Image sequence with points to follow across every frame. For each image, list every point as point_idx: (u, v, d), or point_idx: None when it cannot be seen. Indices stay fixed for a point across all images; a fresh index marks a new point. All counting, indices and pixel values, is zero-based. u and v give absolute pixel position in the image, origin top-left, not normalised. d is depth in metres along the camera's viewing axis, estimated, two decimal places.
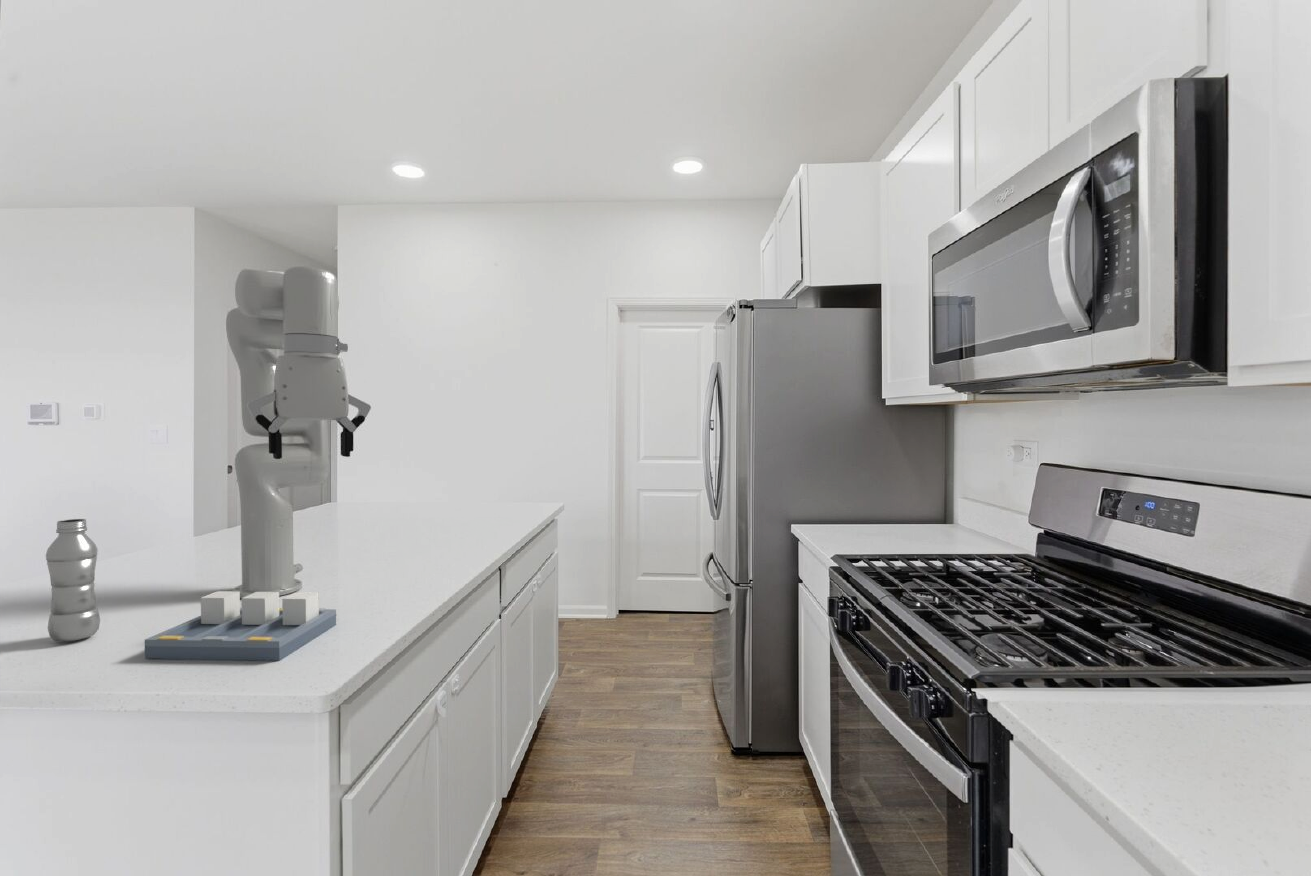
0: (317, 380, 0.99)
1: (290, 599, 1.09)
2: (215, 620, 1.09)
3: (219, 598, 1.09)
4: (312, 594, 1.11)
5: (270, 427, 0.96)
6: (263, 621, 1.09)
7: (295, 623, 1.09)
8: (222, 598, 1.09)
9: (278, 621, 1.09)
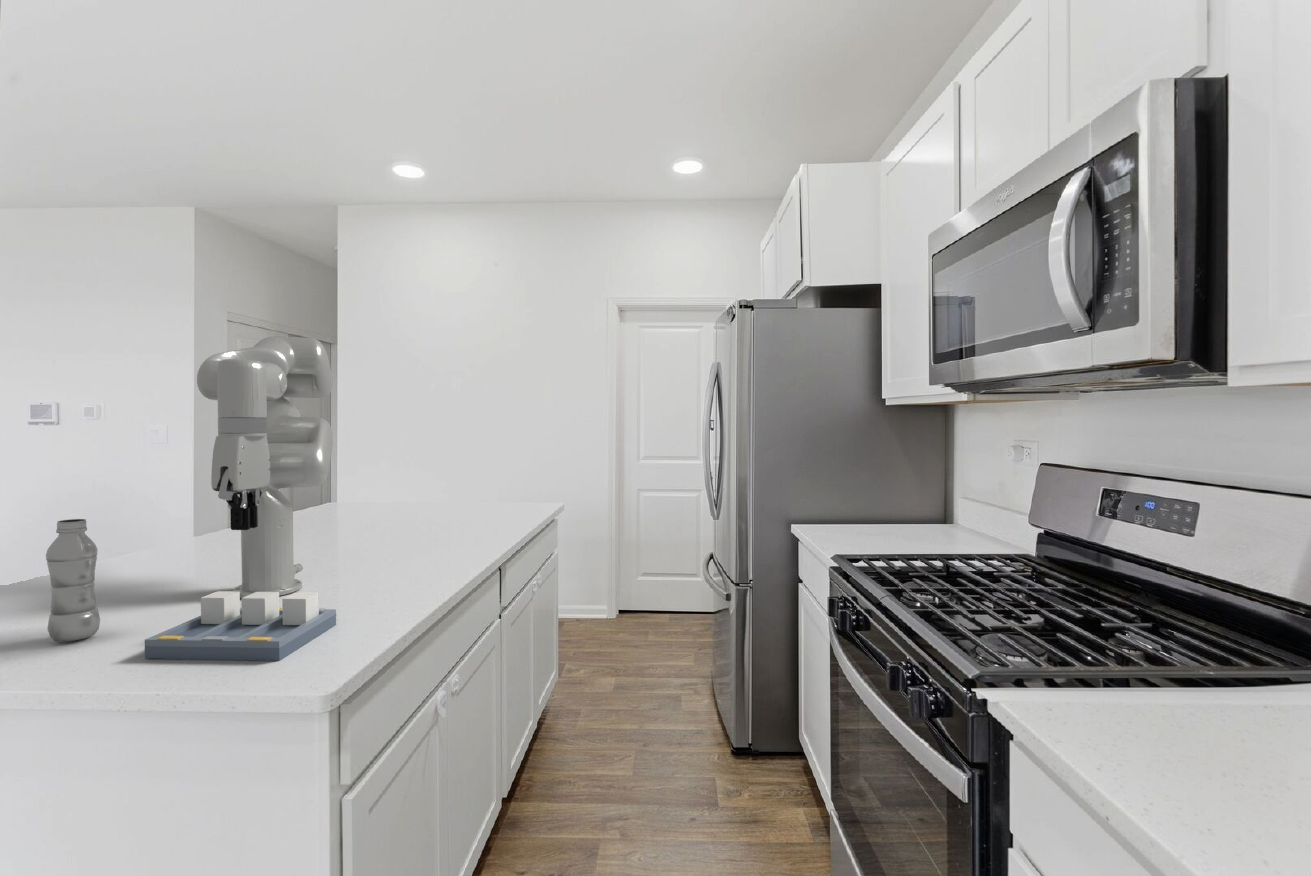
0: (258, 455, 1.17)
1: (290, 599, 1.09)
2: (215, 620, 1.09)
3: (219, 598, 1.09)
4: (312, 594, 1.11)
5: (242, 505, 1.15)
6: (263, 621, 1.09)
7: (295, 623, 1.09)
8: (222, 598, 1.09)
9: (278, 621, 1.09)
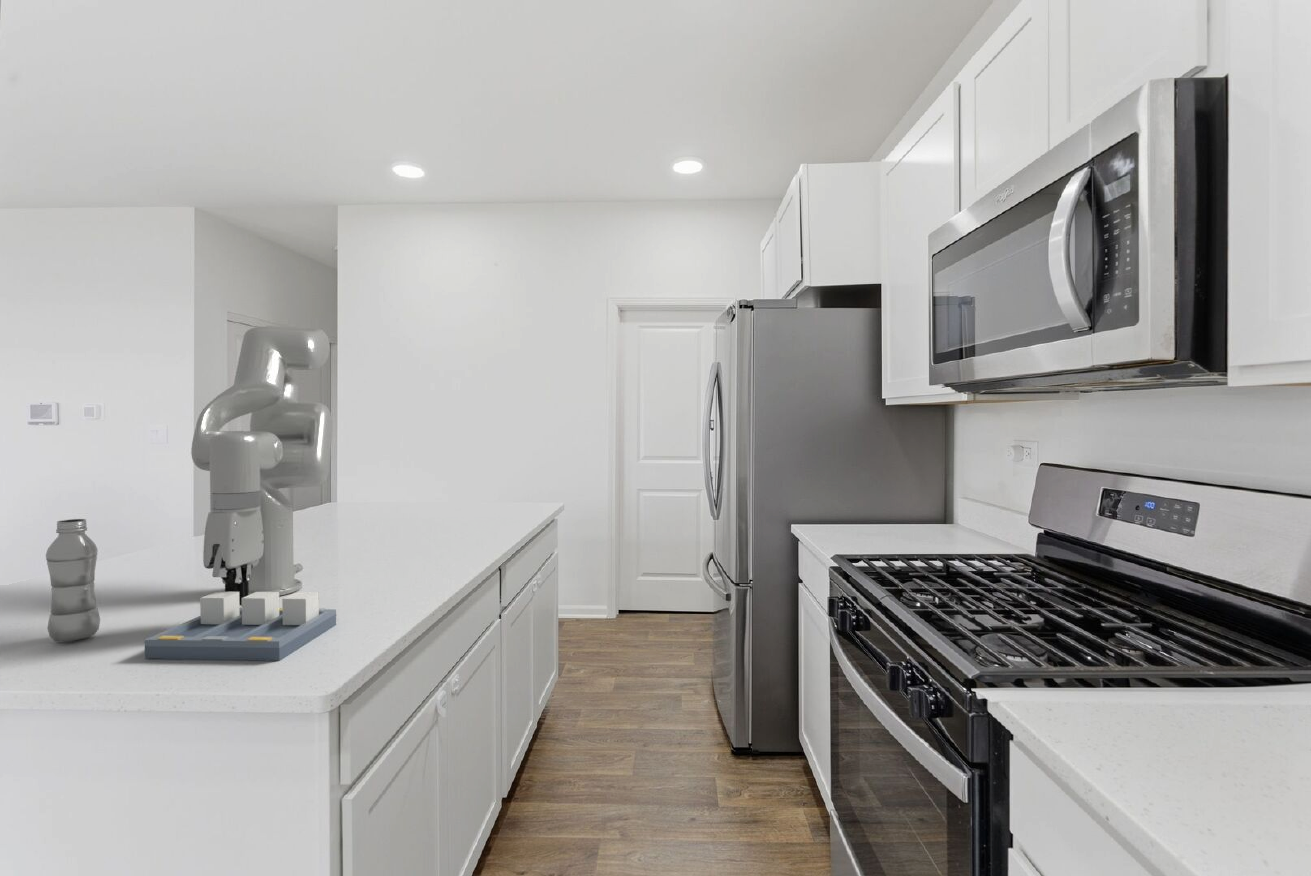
0: (251, 530, 1.15)
1: (290, 599, 1.09)
2: (215, 620, 1.09)
3: (219, 598, 1.09)
4: (312, 594, 1.11)
5: (237, 581, 1.13)
6: (263, 621, 1.09)
7: (295, 623, 1.09)
8: (222, 598, 1.09)
9: (278, 621, 1.09)
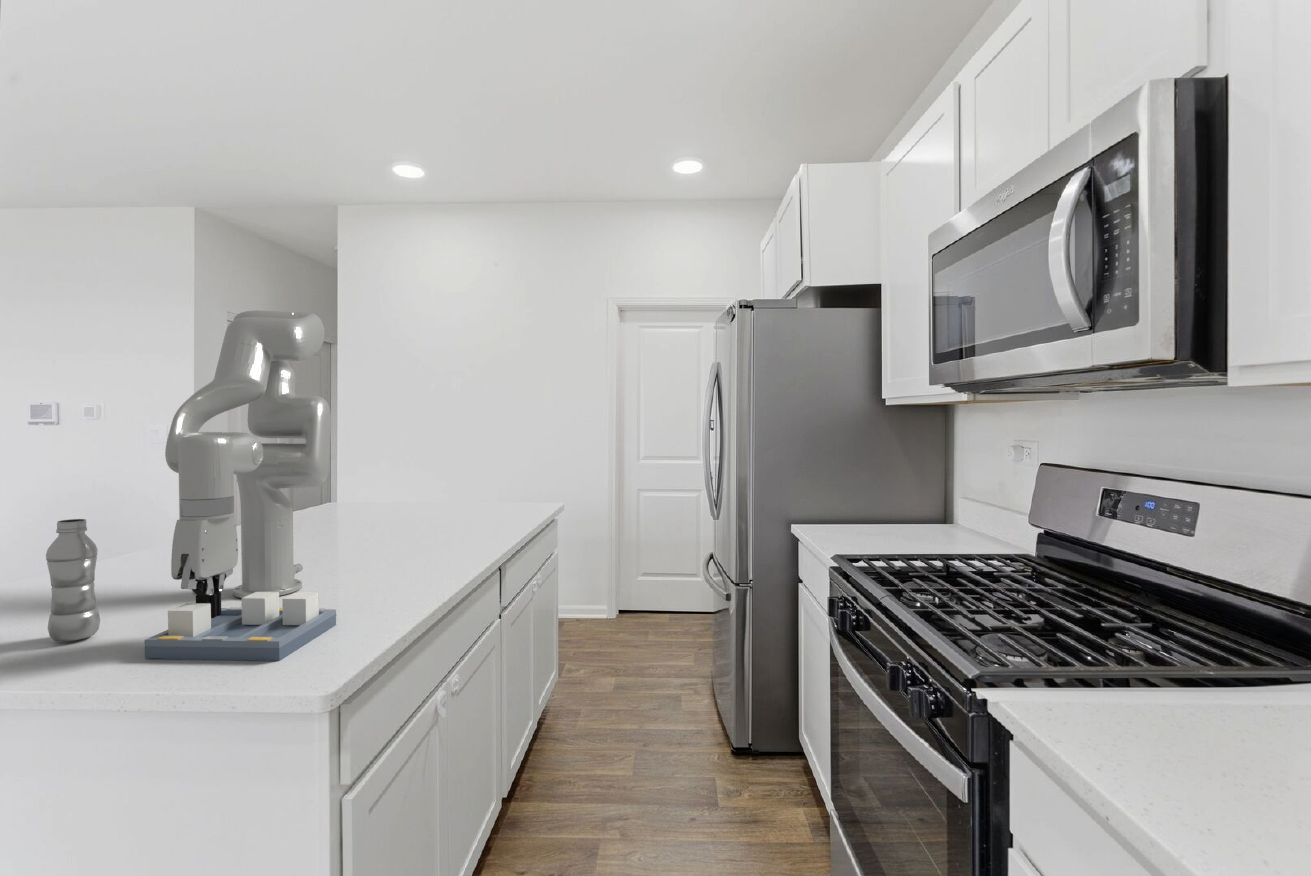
0: (223, 538, 1.08)
1: (290, 599, 1.09)
2: (183, 634, 1.02)
3: (187, 611, 1.02)
4: (312, 594, 1.11)
5: (208, 592, 1.06)
6: (263, 621, 1.09)
7: (295, 623, 1.09)
8: (191, 611, 1.02)
9: (278, 621, 1.09)
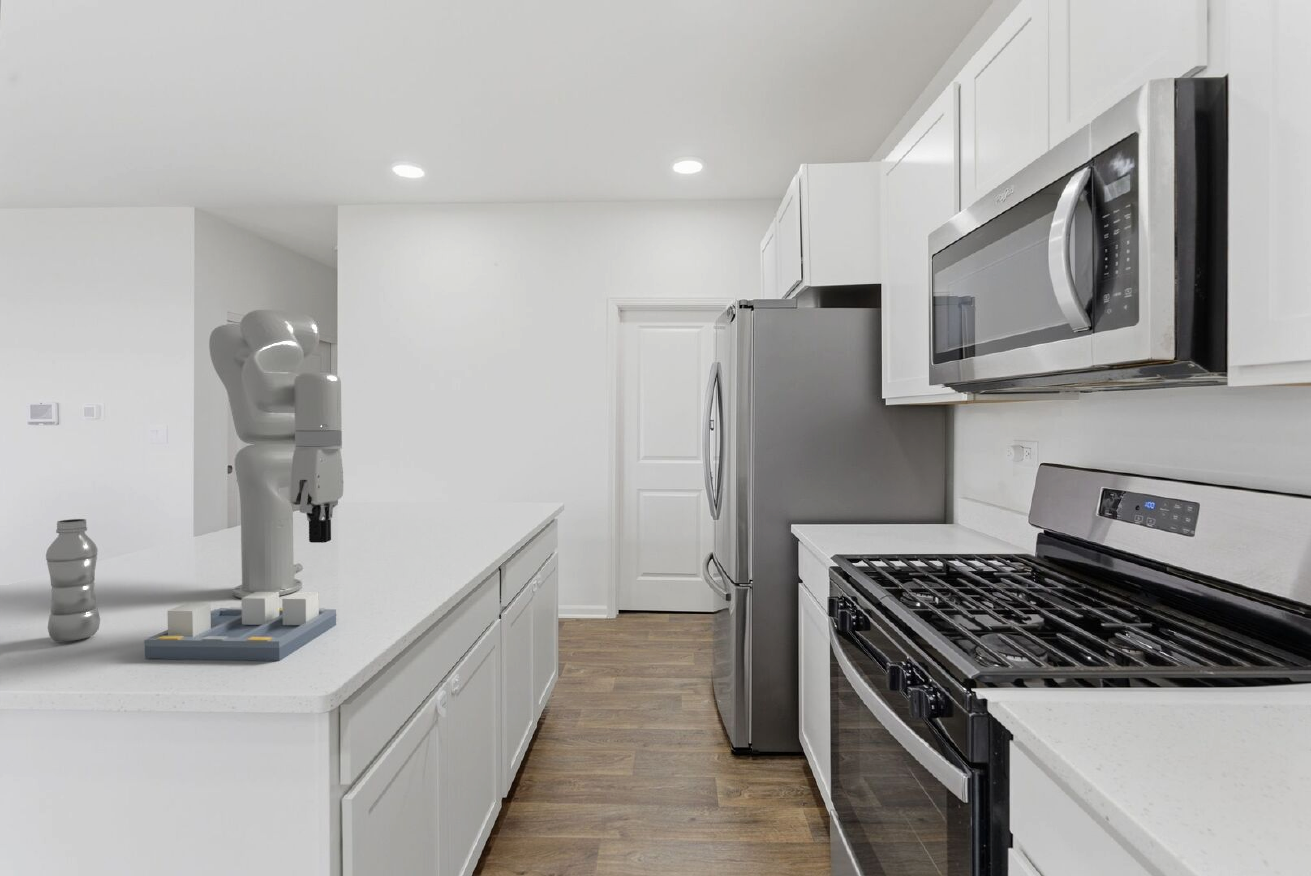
0: (333, 468, 1.16)
1: (290, 599, 1.09)
2: (183, 635, 1.02)
3: (187, 611, 1.02)
4: (312, 594, 1.11)
5: (321, 518, 1.15)
6: (263, 621, 1.09)
7: (295, 623, 1.09)
8: (190, 611, 1.02)
9: (278, 621, 1.09)
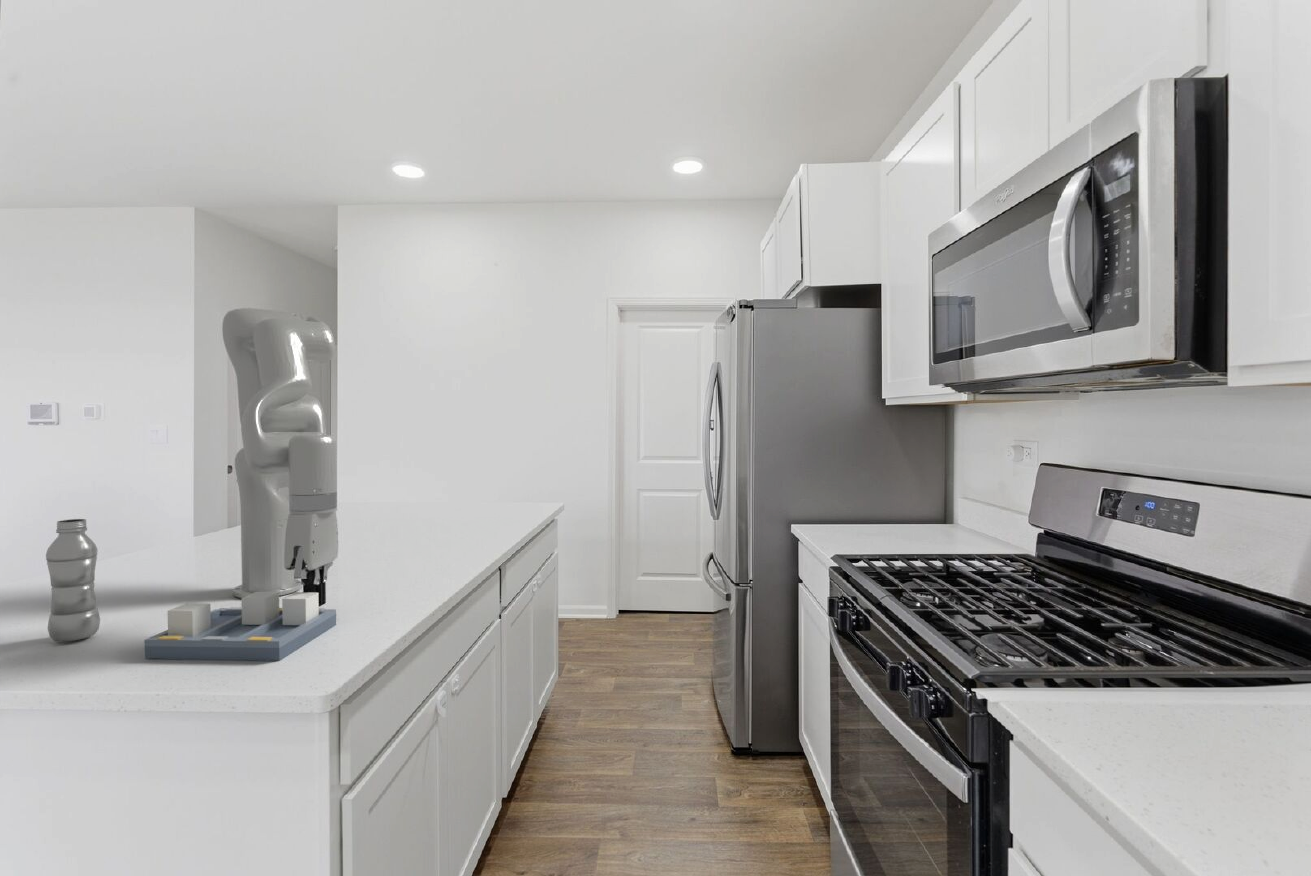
0: (328, 531, 1.15)
1: (290, 599, 1.09)
2: (183, 635, 1.02)
3: (187, 611, 1.02)
4: (312, 594, 1.11)
5: (316, 582, 1.13)
6: (263, 621, 1.09)
7: (294, 623, 1.09)
8: (190, 611, 1.02)
9: (278, 621, 1.09)
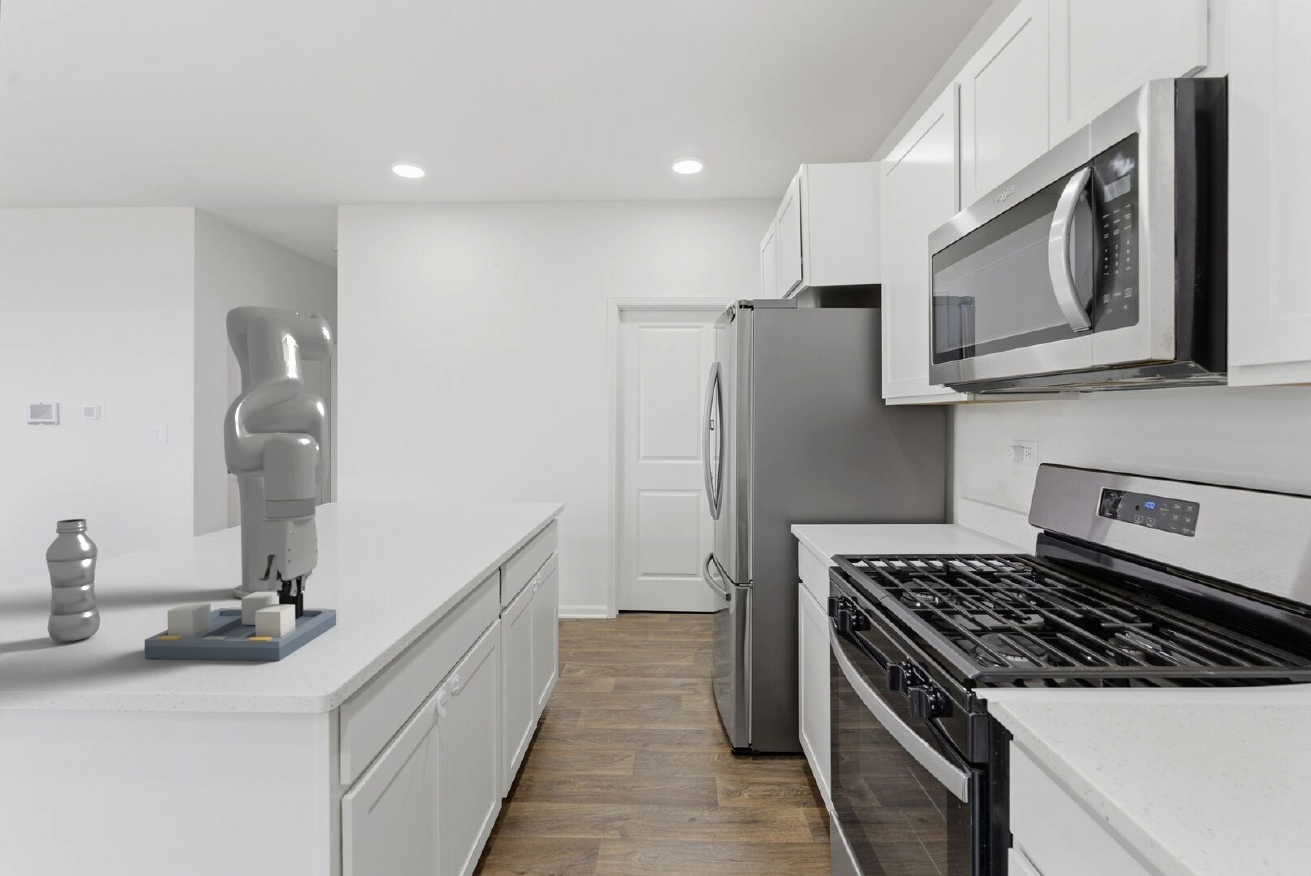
0: (306, 539, 1.07)
1: (264, 612, 1.01)
2: (183, 635, 1.02)
3: (187, 611, 1.02)
4: (288, 606, 1.04)
5: (292, 593, 1.06)
6: None
7: None
8: (190, 611, 1.02)
9: None
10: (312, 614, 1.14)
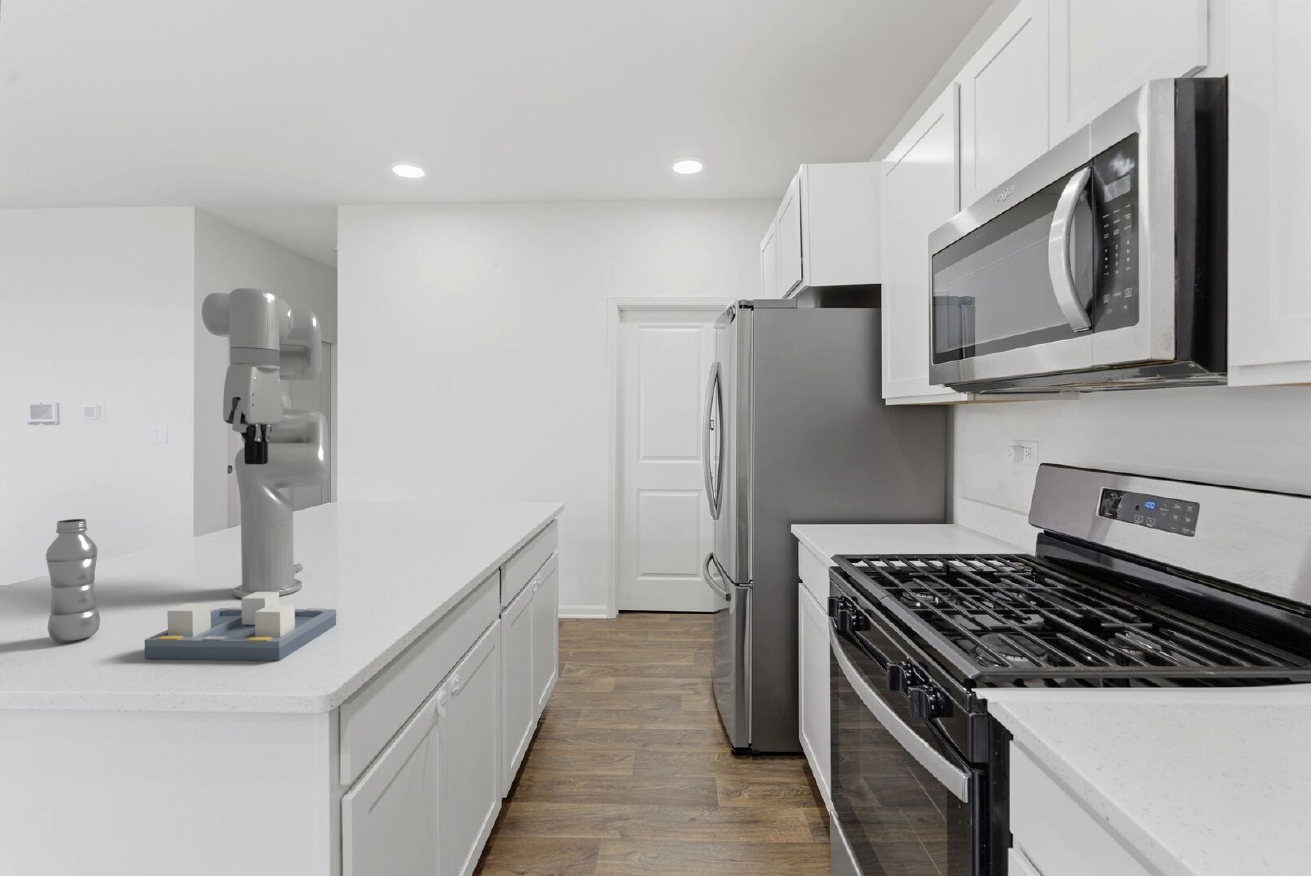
0: (270, 389, 1.14)
1: (263, 612, 1.01)
2: (183, 635, 1.02)
3: (187, 611, 1.02)
4: (287, 606, 1.04)
5: (257, 439, 1.12)
6: None
7: None
8: (190, 611, 1.02)
9: None
10: (312, 614, 1.14)
